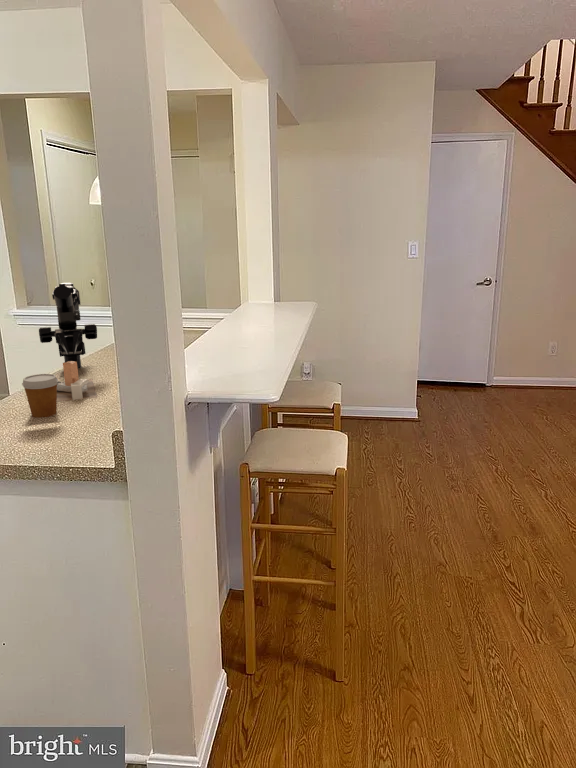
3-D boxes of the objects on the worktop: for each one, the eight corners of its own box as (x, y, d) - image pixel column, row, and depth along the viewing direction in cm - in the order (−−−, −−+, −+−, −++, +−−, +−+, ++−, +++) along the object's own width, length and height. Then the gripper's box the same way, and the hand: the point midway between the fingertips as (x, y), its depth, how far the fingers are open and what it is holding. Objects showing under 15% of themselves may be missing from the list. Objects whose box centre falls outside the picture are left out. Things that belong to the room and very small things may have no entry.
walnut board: (46, 386, 198) (46, 383, 197) (92, 382, 203) (92, 378, 203) (46, 406, 176) (46, 402, 176) (98, 400, 182) (97, 397, 181)
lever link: (53, 386, 192) (50, 358, 189) (88, 390, 187) (85, 361, 185) (44, 389, 188) (40, 361, 185) (79, 393, 183) (76, 364, 181)
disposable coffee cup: (54, 423, 161) (49, 382, 158) (20, 423, 162) (15, 382, 158) (67, 412, 171) (63, 373, 167) (35, 412, 171) (30, 373, 168)
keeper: (71, 393, 186) (70, 379, 185) (89, 391, 188) (87, 377, 186) (72, 399, 179) (71, 385, 177) (90, 397, 181) (89, 384, 179)
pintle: (44, 388, 191) (43, 377, 190) (64, 386, 193) (62, 376, 192) (44, 393, 185) (43, 382, 184) (64, 391, 188) (63, 380, 187)
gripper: (35, 304, 193) (39, 343, 187) (93, 301, 200) (99, 338, 193) (38, 323, 202) (42, 361, 196) (94, 319, 209) (99, 356, 203)
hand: (71, 353), depth 197 cm, fingers closed
